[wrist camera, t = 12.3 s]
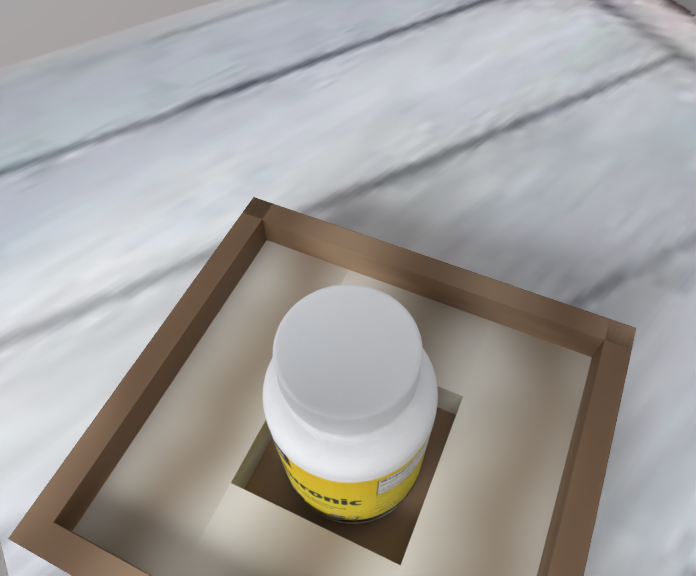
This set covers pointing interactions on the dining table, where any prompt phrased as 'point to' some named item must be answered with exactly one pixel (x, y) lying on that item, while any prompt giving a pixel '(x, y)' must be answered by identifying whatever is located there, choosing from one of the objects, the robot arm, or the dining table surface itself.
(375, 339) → the supplement bottle
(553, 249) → the dining table surface
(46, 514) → the socket box
